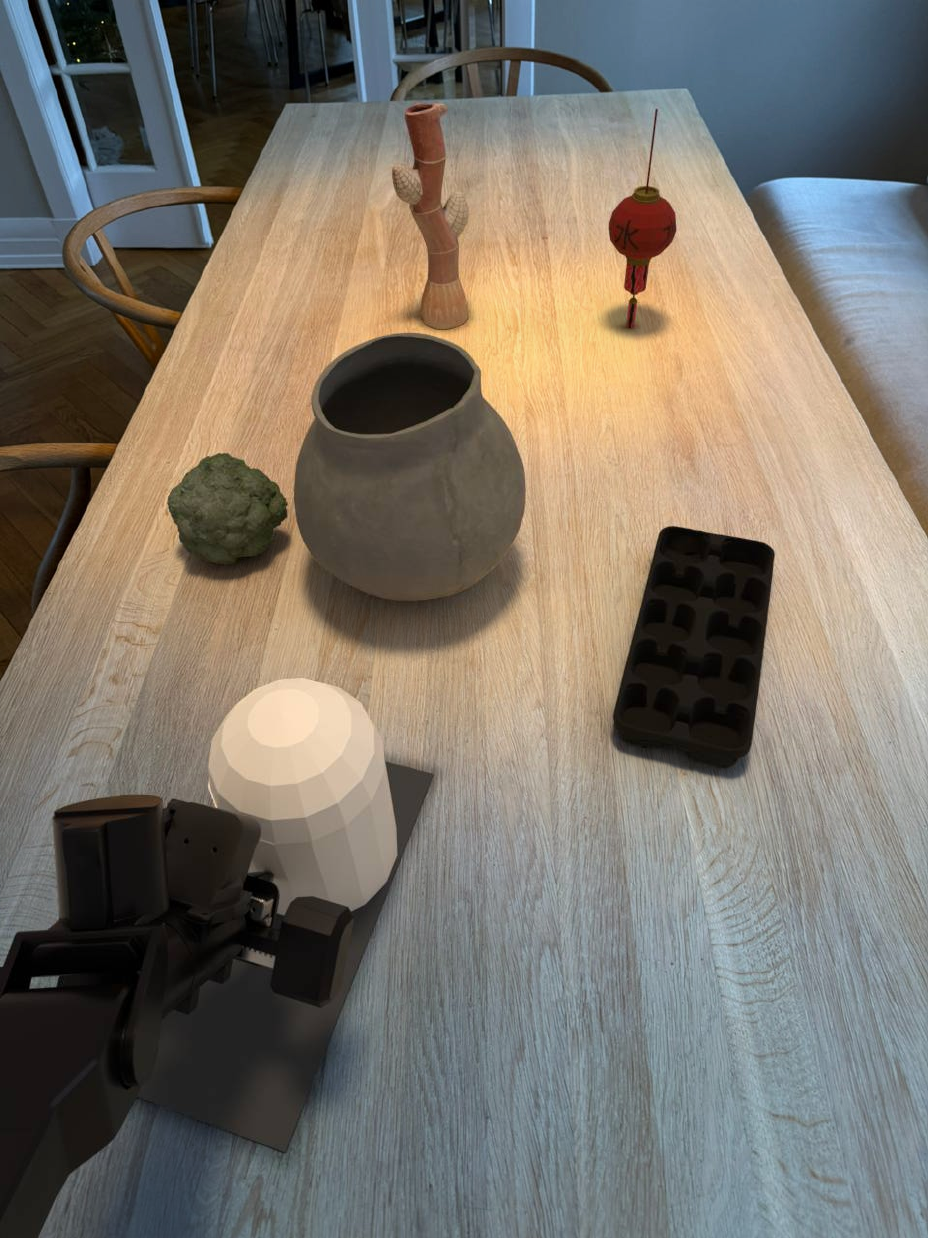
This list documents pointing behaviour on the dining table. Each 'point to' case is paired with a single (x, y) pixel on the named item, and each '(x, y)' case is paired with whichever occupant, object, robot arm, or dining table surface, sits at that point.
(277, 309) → the dining table surface
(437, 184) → the vase
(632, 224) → the lantern
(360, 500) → the ceramic pot
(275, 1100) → the plate
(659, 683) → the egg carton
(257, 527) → the vegetable
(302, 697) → the container
